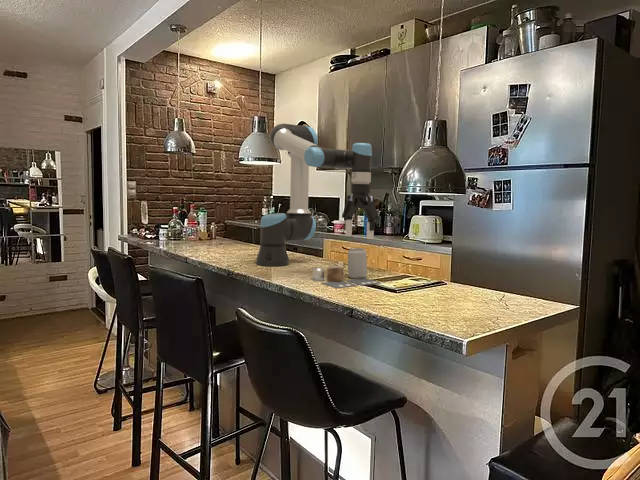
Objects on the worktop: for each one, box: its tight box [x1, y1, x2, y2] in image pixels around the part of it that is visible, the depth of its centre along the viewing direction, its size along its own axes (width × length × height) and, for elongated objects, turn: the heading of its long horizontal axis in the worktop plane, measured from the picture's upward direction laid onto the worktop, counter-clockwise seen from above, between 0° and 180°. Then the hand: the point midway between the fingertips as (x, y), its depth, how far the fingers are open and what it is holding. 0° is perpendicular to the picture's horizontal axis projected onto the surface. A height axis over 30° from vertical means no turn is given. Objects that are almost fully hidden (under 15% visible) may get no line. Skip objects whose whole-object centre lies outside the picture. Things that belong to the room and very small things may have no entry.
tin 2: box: [329, 265, 341, 268], centre depth 186 cm, size 4×4×5 cm
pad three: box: [344, 277, 382, 287], centre depth 180 cm, size 10×10×1 cm
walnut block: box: [326, 266, 345, 282], centre depth 181 cm, size 5×5×5 cm
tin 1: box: [312, 267, 325, 282], centre depth 181 cm, size 4×4×5 cm
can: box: [347, 247, 368, 280], centre depth 188 cm, size 8×8×12 cm
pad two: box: [320, 280, 359, 289], centre depth 174 cm, size 10×10×1 cm
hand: (358, 237), depth 187 cm, fingers open, 13 cm apart
